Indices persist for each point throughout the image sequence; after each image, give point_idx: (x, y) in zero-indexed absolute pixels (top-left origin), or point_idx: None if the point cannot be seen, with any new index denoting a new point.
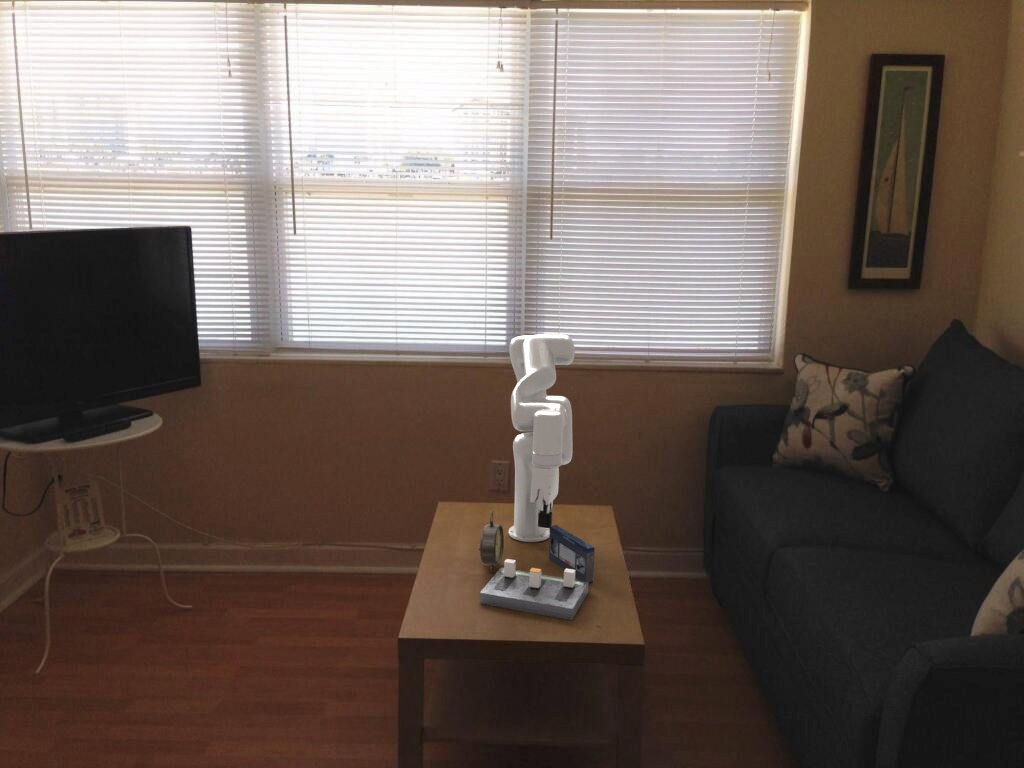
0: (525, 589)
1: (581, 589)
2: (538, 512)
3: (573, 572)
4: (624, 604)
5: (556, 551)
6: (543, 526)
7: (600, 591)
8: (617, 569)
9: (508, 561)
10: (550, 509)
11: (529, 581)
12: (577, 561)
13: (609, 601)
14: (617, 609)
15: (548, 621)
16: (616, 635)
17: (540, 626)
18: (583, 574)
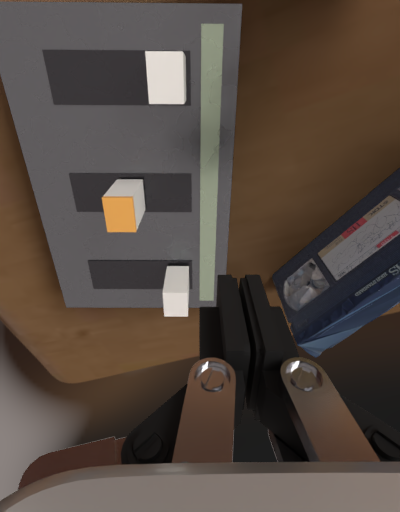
0: (102, 169)
1: None
2: (196, 364)
3: (167, 315)
4: (195, 353)
5: None
6: (216, 305)
7: None
8: None
9: (157, 72)
10: (270, 431)
11: (112, 185)
12: (317, 275)
13: (197, 331)
14: (168, 347)
15: (40, 247)
16: (68, 361)
17: (5, 238)
18: (285, 279)
